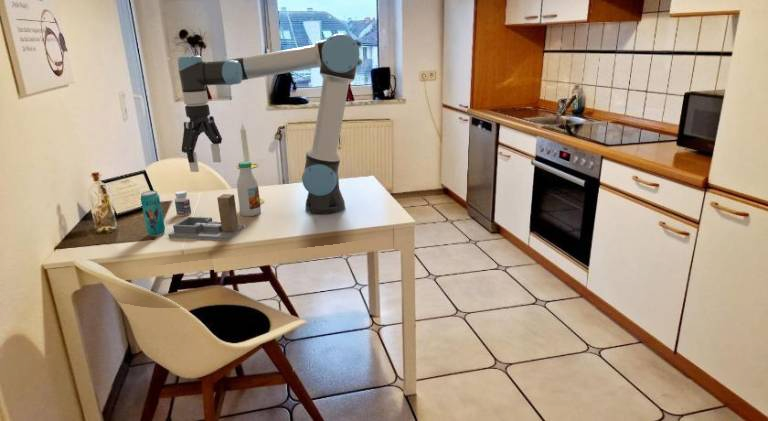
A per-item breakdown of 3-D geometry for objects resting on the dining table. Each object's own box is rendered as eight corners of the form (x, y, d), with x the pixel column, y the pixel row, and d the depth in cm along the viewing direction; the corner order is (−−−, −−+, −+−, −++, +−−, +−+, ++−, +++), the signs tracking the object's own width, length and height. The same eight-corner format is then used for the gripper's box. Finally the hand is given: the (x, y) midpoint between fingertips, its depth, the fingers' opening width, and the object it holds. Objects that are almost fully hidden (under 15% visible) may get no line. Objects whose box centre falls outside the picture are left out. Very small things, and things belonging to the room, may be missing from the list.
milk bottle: (243, 218, 187) (236, 166, 181) (238, 212, 194) (231, 161, 187) (263, 214, 191) (257, 163, 184) (258, 209, 197) (252, 159, 191)
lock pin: (238, 227, 173) (234, 194, 169) (232, 231, 169) (228, 198, 165) (199, 225, 176) (194, 193, 172) (193, 229, 173) (187, 196, 169)
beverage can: (147, 238, 170) (139, 196, 166) (148, 233, 175) (139, 191, 171) (166, 235, 172) (158, 193, 168) (165, 230, 177) (158, 189, 173)
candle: (268, 203, 204) (259, 123, 194) (244, 208, 199) (233, 126, 188) (259, 197, 212) (250, 120, 202) (236, 202, 207) (225, 123, 196)
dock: (244, 227, 177) (243, 217, 176) (227, 240, 166) (226, 229, 165) (188, 225, 182) (187, 215, 181) (168, 237, 171) (166, 226, 170)
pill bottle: (186, 216, 191) (182, 194, 188) (174, 216, 192) (170, 194, 189) (194, 212, 196) (190, 190, 193) (182, 211, 197) (178, 190, 194)
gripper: (208, 100, 179) (216, 158, 186) (162, 109, 156) (174, 175, 163) (226, 99, 177) (234, 158, 184) (183, 109, 154) (194, 176, 161)
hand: (206, 166), depth 173 cm, fingers open, 13 cm apart
